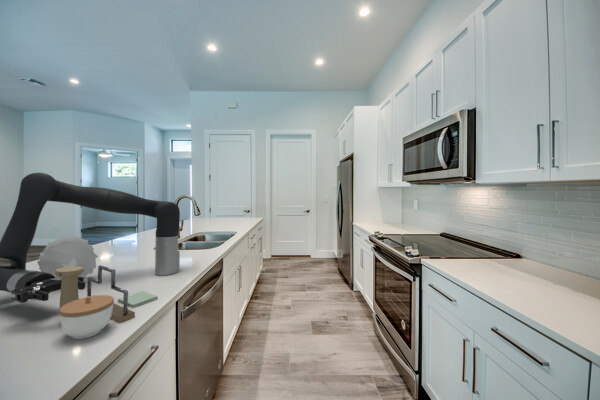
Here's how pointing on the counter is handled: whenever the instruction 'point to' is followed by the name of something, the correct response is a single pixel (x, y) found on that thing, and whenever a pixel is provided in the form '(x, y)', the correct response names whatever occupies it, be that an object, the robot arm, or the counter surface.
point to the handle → (69, 283)
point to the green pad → (139, 299)
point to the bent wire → (118, 312)
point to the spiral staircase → (67, 255)
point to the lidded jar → (86, 316)
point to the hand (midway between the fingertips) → (66, 291)
